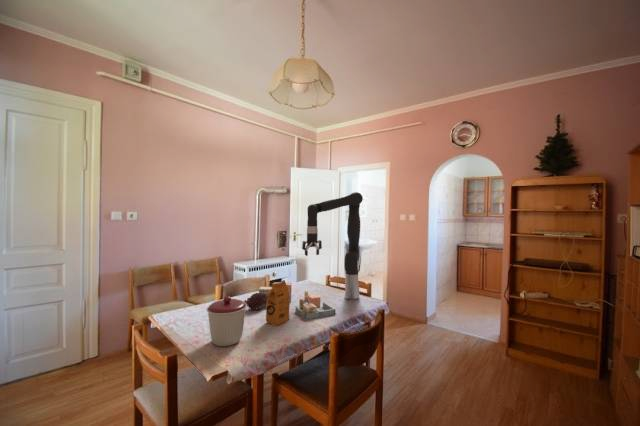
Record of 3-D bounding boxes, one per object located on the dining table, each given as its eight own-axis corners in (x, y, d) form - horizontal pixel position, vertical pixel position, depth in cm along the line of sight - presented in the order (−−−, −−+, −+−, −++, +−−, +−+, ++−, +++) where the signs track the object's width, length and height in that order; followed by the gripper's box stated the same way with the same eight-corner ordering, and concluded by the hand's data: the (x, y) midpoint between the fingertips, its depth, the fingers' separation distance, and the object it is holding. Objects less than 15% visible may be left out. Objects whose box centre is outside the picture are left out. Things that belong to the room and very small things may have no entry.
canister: (252, 343, 127) (253, 298, 127) (211, 355, 117) (212, 305, 117) (239, 329, 142) (239, 289, 142) (202, 338, 132) (202, 294, 131)
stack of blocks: (258, 303, 183) (258, 284, 183) (260, 300, 190) (260, 282, 189) (290, 303, 184) (291, 284, 184) (291, 300, 190) (291, 282, 190)
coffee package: (263, 322, 151) (263, 282, 151) (278, 315, 162) (279, 278, 161) (276, 327, 146) (276, 285, 145) (291, 319, 156) (292, 281, 156)
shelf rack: (324, 306, 178) (324, 302, 178) (335, 314, 165) (335, 309, 165) (295, 311, 168) (295, 306, 168) (305, 319, 156) (305, 314, 156)
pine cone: (265, 303, 182) (265, 288, 182) (273, 307, 175) (274, 292, 175) (240, 309, 170) (240, 293, 170) (248, 314, 163) (248, 297, 163)
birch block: (304, 307, 175) (305, 298, 175) (316, 316, 161) (316, 306, 161) (296, 309, 173) (296, 299, 172) (307, 318, 158) (307, 308, 158)
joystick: (309, 298, 193) (309, 290, 193) (320, 306, 178) (320, 297, 178) (301, 300, 190) (301, 291, 190) (311, 307, 176) (311, 298, 175)
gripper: (318, 231, 202) (318, 254, 202) (300, 232, 195) (300, 255, 195) (323, 232, 195) (323, 255, 195) (305, 233, 188) (305, 256, 189)
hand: (311, 255), depth 195 cm, fingers open, 8 cm apart
